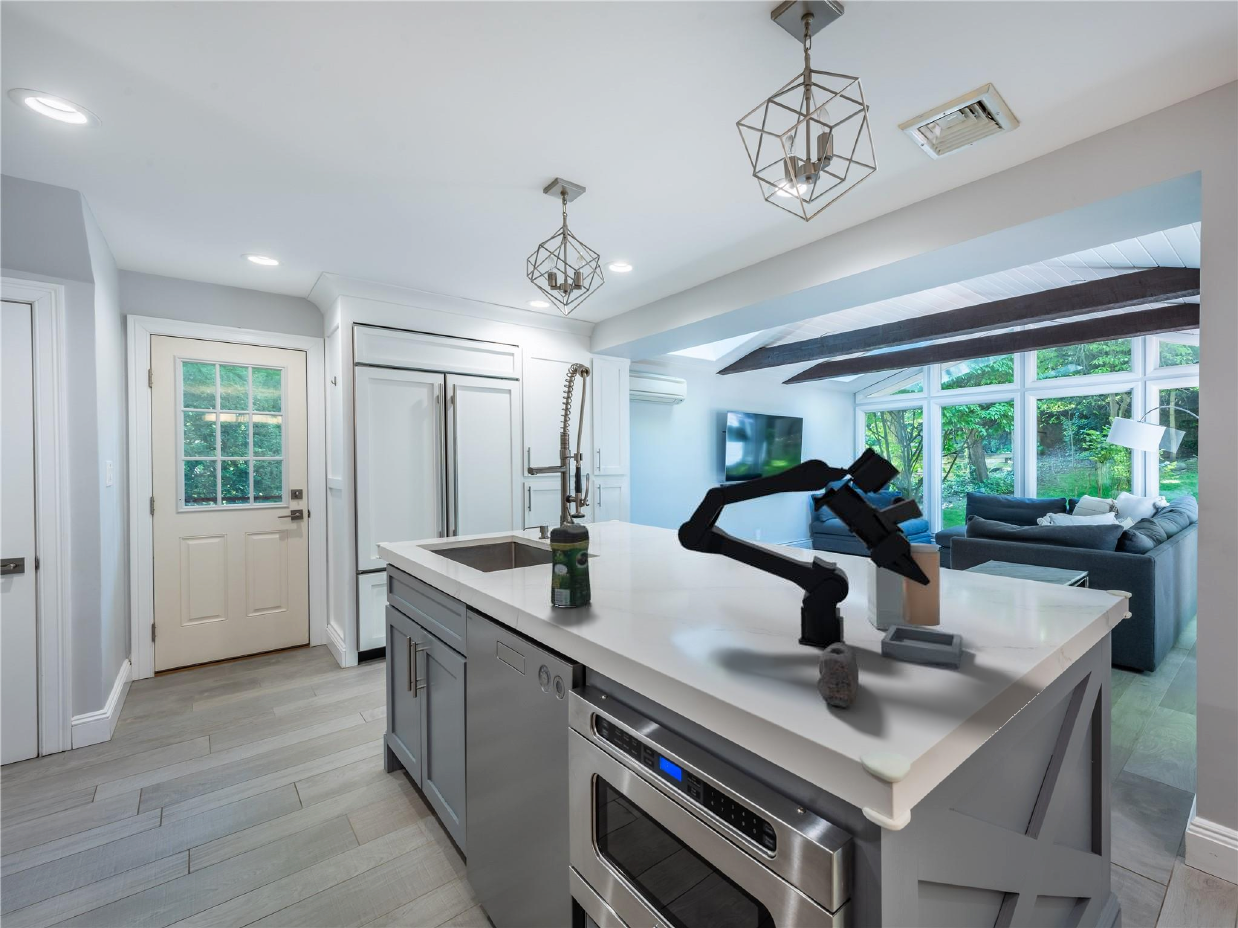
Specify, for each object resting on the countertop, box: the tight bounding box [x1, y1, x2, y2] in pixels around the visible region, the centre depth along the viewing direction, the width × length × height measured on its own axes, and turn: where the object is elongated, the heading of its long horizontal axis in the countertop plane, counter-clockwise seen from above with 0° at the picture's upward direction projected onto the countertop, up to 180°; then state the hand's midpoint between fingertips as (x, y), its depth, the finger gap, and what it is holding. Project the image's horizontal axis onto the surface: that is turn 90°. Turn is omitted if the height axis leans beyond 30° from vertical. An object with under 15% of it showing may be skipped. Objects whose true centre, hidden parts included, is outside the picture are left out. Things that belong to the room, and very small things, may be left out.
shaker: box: [903, 542, 941, 627], centre depth 95 cm, size 6×6×13 cm
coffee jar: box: [549, 524, 592, 607], centre depth 132 cm, size 10×8×19 cm
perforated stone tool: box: [816, 642, 860, 708], centre depth 79 cm, size 15×5×7 cm, turn 154°
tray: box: [880, 625, 963, 670], centre depth 95 cm, size 11×11×2 cm
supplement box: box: [866, 559, 917, 631], centre depth 112 cm, size 7×7×13 cm
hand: (926, 580), depth 95 cm, fingers closed on shaker, 5 cm apart
